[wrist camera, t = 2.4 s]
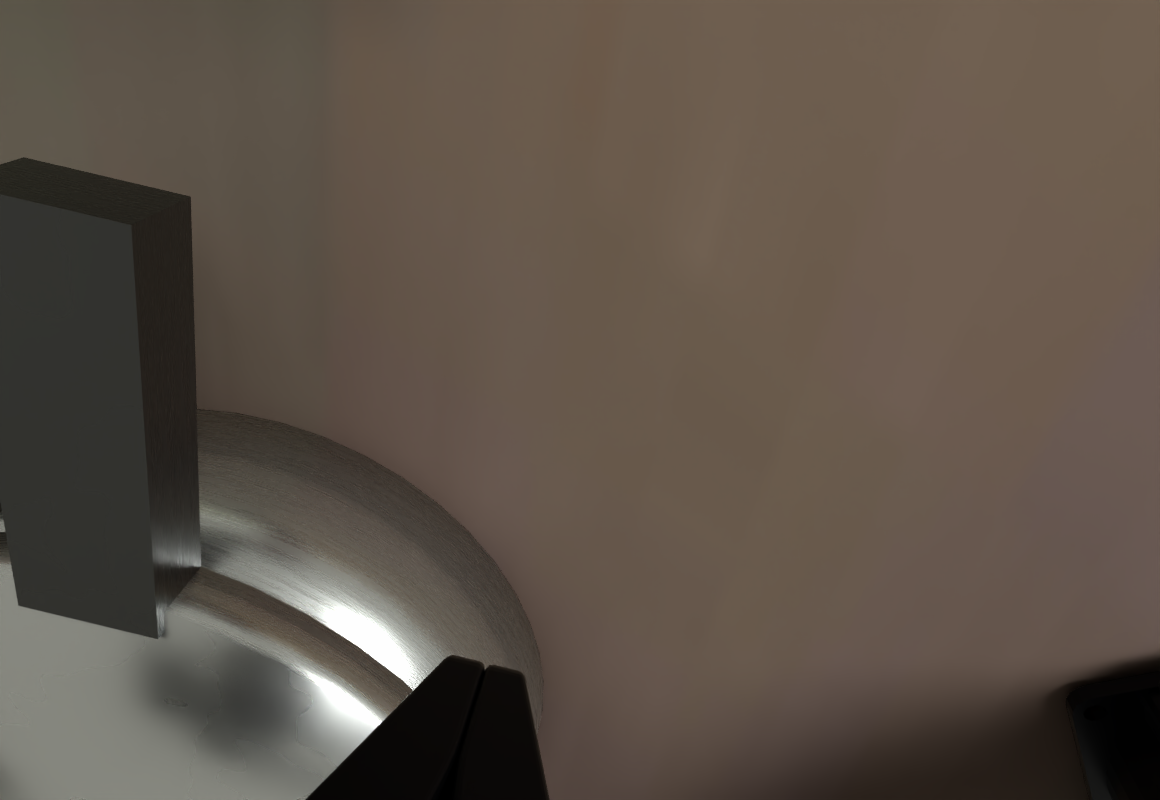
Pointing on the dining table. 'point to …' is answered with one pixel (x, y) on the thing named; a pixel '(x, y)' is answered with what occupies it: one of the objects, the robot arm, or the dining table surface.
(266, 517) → the cooker pot
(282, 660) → the cooker lid
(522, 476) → the dining table surface
